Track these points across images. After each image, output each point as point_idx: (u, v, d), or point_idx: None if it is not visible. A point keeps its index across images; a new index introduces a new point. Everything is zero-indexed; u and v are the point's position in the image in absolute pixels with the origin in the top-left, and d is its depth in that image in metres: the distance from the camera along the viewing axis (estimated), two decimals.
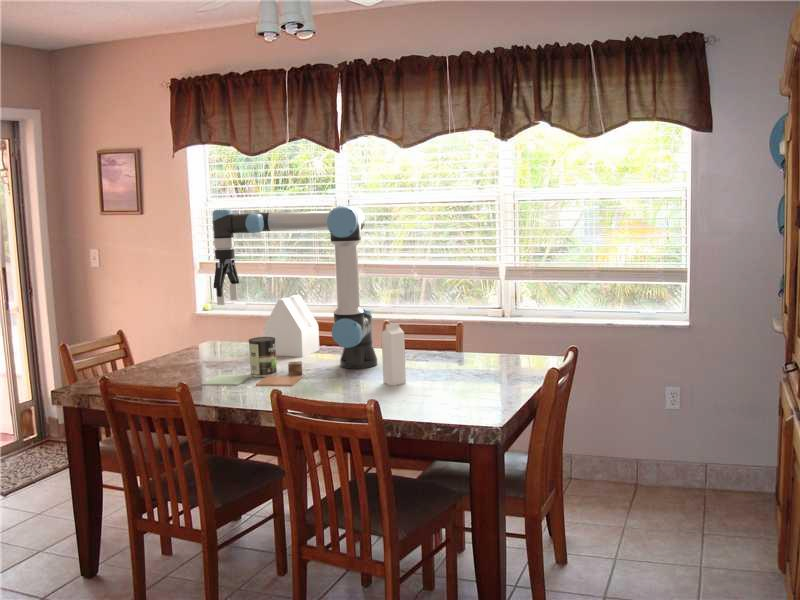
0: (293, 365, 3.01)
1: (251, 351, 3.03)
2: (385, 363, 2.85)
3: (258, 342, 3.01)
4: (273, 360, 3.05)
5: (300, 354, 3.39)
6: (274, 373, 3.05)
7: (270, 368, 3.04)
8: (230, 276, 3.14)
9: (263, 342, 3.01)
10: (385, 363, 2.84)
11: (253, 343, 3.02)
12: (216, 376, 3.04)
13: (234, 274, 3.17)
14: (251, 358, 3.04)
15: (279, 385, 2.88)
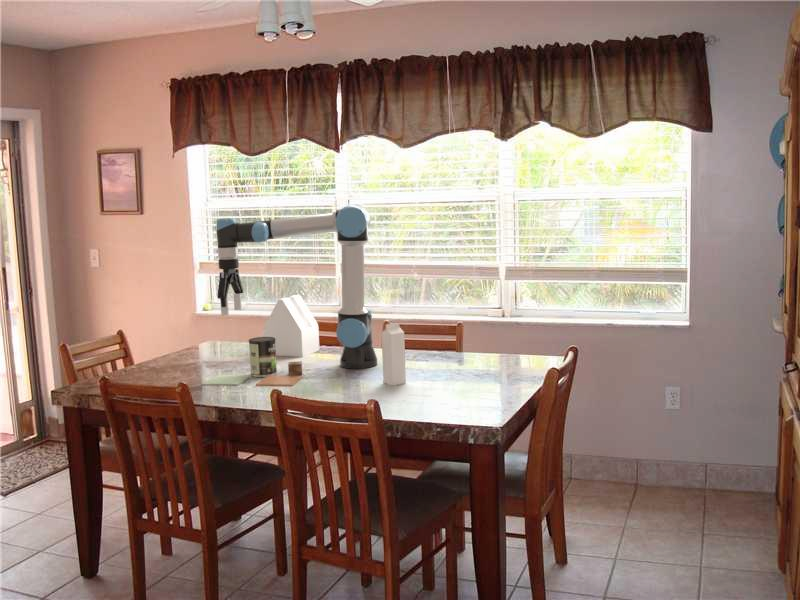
0: (293, 365, 3.01)
1: (251, 351, 3.03)
2: (385, 363, 2.85)
3: (258, 342, 3.01)
4: (273, 360, 3.05)
5: (300, 354, 3.39)
6: (274, 373, 3.05)
7: (270, 368, 3.04)
8: (234, 286, 3.09)
9: (263, 342, 3.01)
10: (385, 363, 2.84)
11: (253, 343, 3.02)
12: (216, 376, 3.04)
13: (238, 284, 3.12)
14: (251, 358, 3.04)
15: (279, 385, 2.88)
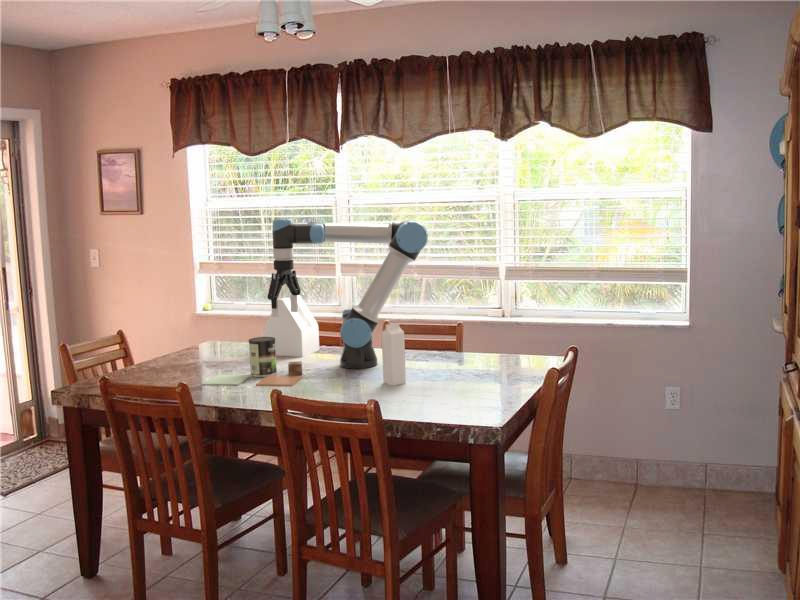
0: (293, 365, 3.01)
1: (251, 351, 3.03)
2: (385, 363, 2.85)
3: (258, 342, 3.01)
4: (273, 360, 3.05)
5: (300, 354, 3.39)
6: (274, 373, 3.05)
7: (270, 368, 3.04)
8: (290, 287, 3.05)
9: (263, 342, 3.01)
10: (385, 363, 2.85)
11: (253, 343, 3.02)
12: (216, 376, 3.04)
13: (295, 285, 3.08)
14: (251, 358, 3.04)
15: (279, 385, 2.88)
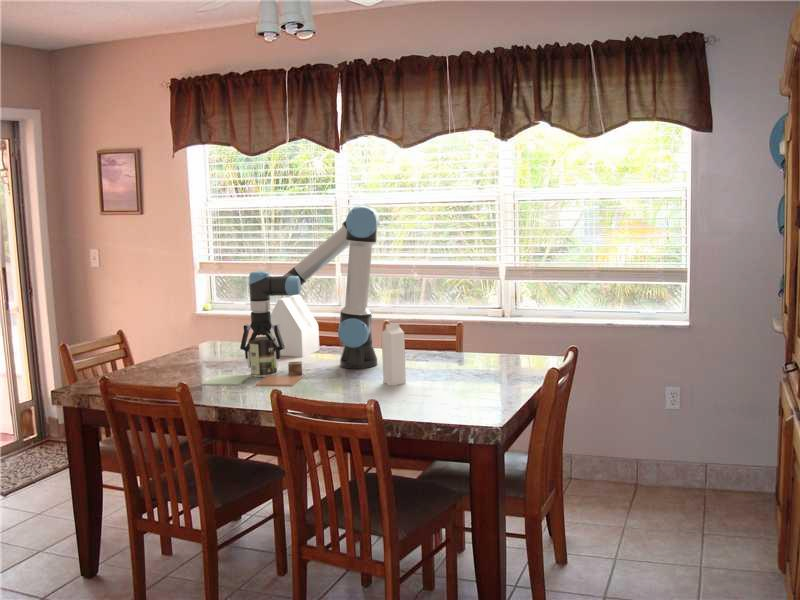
0: (293, 365, 3.01)
1: (251, 351, 3.03)
2: (385, 363, 2.85)
3: (258, 342, 3.01)
4: (273, 360, 3.05)
5: (300, 354, 3.39)
6: (274, 373, 3.05)
7: (270, 368, 3.04)
8: None
9: (263, 342, 3.01)
10: (385, 363, 2.84)
11: (253, 343, 3.02)
12: (216, 376, 3.04)
13: None
14: (251, 358, 3.04)
15: (279, 385, 2.88)
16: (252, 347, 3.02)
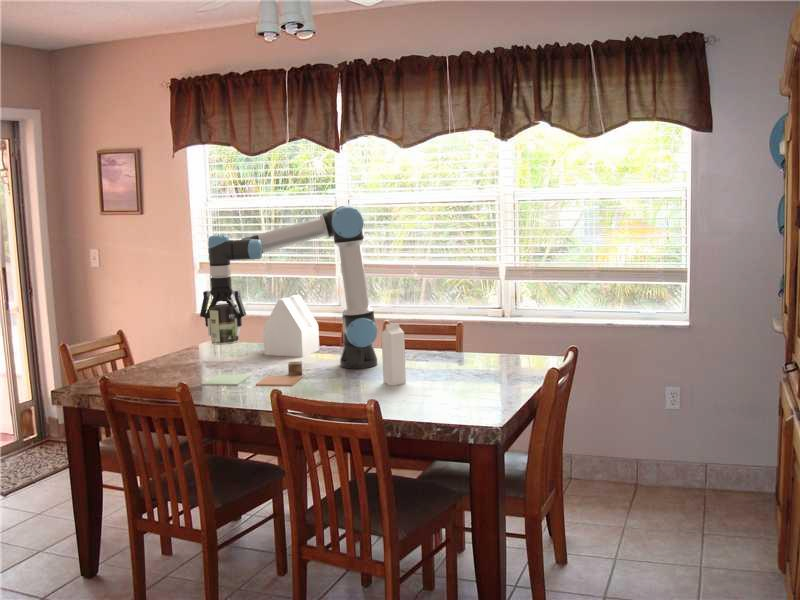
0: (293, 365, 3.01)
1: (211, 318, 2.92)
2: (385, 363, 2.85)
3: (218, 308, 2.90)
4: (234, 327, 2.94)
5: (300, 354, 3.39)
6: (235, 341, 2.95)
7: (231, 335, 2.93)
8: None
9: (223, 308, 2.90)
10: (385, 363, 2.84)
11: (213, 309, 2.91)
12: (216, 376, 3.04)
13: None
14: (211, 325, 2.93)
15: (279, 385, 2.88)
16: (212, 314, 2.92)
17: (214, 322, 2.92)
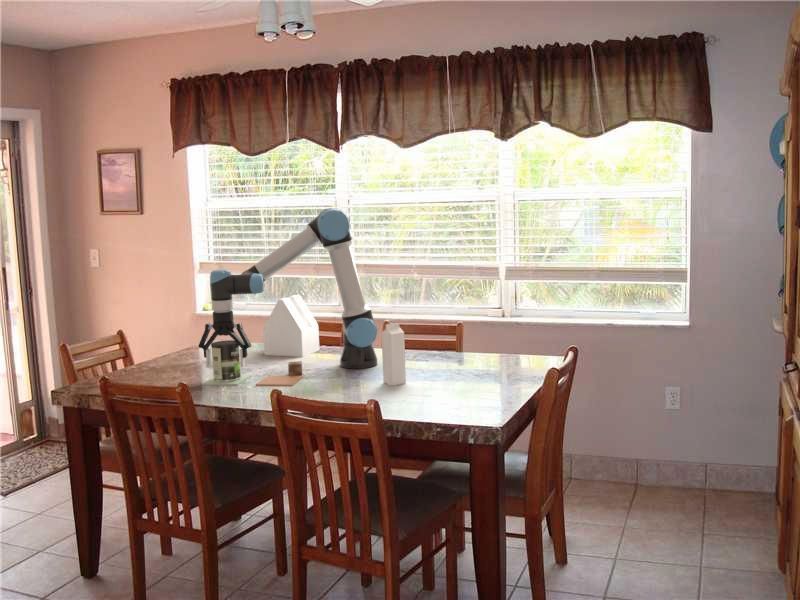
0: (293, 365, 3.01)
1: (213, 355, 2.94)
2: (385, 363, 2.85)
3: (220, 346, 2.92)
4: (236, 364, 2.96)
5: (300, 354, 3.39)
6: (237, 378, 2.96)
7: (233, 372, 2.95)
8: None
9: (225, 346, 2.92)
10: (385, 363, 2.84)
11: (215, 347, 2.93)
12: None
13: (243, 339, 2.94)
14: (213, 362, 2.95)
15: (279, 385, 2.88)
16: (214, 351, 2.93)
17: (216, 359, 2.93)
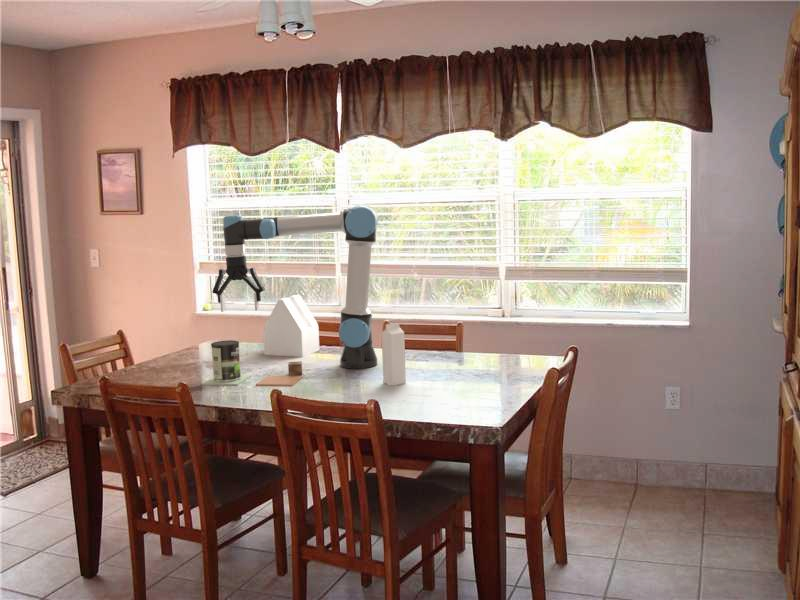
0: (293, 365, 3.01)
1: (213, 355, 2.94)
2: (385, 363, 2.85)
3: (220, 346, 2.92)
4: (236, 364, 2.96)
5: (300, 354, 3.39)
6: (237, 378, 2.96)
7: (233, 372, 2.95)
8: None
9: (225, 346, 2.92)
10: (385, 363, 2.84)
11: (215, 347, 2.93)
12: None
13: (256, 283, 3.00)
14: (214, 362, 2.95)
15: (279, 385, 2.88)
16: (214, 351, 2.93)
17: (216, 359, 2.93)
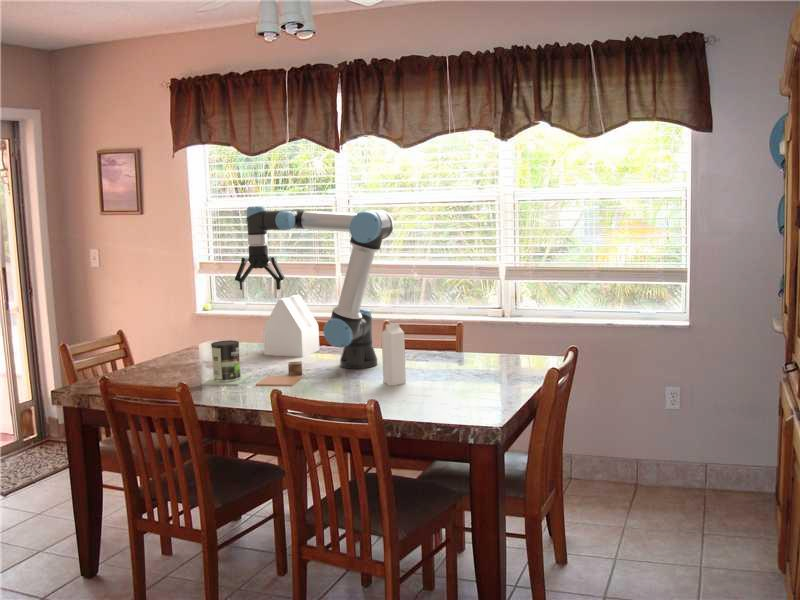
0: (293, 365, 3.01)
1: (213, 355, 2.94)
2: (385, 363, 2.85)
3: (220, 346, 2.92)
4: (236, 364, 2.96)
5: (300, 354, 3.39)
6: (237, 378, 2.96)
7: (233, 372, 2.95)
8: None
9: (225, 346, 2.92)
10: (385, 363, 2.85)
11: (215, 347, 2.93)
12: None
13: (277, 272, 3.13)
14: (214, 362, 2.95)
15: (279, 385, 2.88)
16: (214, 351, 2.93)
17: (216, 359, 2.93)
